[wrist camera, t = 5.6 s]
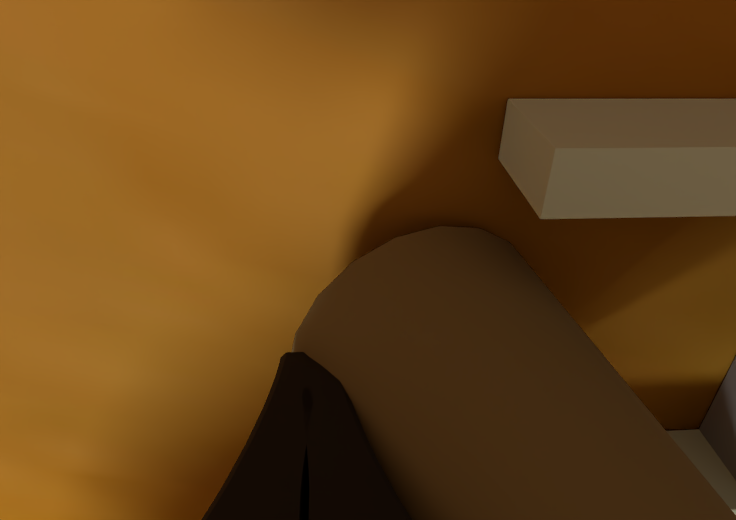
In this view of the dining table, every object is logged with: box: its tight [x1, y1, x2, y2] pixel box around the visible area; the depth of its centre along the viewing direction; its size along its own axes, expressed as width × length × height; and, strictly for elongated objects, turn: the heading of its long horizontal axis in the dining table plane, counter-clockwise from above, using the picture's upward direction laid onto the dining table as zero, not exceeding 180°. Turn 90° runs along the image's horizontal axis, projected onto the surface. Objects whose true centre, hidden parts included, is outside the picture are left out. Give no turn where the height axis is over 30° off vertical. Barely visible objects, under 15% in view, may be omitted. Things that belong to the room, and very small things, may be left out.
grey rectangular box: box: [498, 99, 736, 515], centre depth 12 cm, size 11×8×5 cm
